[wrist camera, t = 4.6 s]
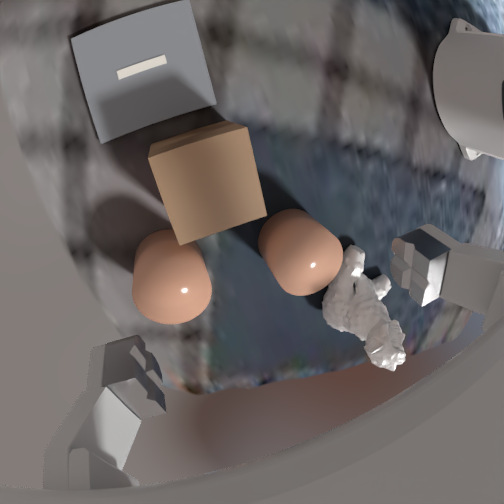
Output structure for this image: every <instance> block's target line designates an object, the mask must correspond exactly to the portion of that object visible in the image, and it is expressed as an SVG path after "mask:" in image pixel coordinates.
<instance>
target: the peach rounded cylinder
mask: <svg viewBox="0 0 504 504" xmlns="http://www.w3.org/2000/svg"><path fill="white" fill-rule="evenodd" d="M211 293H212V288H211V283H210V279H209V276H208V273H207V270H206V266H205V263H204V260H203V257H202V253H201V250H200V247H199V245H198V244H197V242H196V241H195V240H194V241H192V242H189V243H186V244H183V245H179V242H178V240H177V237H176V235H175V232H174V230H173V229H164V230H159V231H156V232H154V233H152V234H150V235H148V236H147V237H146V238H144V240H143V241H142V242H141V243H140V244H139V246H138V248H137V250H136V254H135V262H134V274H133V287H132V296H133V300H134V303H135V305H136V307H137V308H138V310H139V311H140V312H141V313H142V314H143V315H144V316H146V317H147V318H149V319H151V320H153V321H155V322H158V323H162V324H179V323H183V322H186V321H189V320H191V319H193V318H195V317H196V316H198V315H199V314H200V313H201V312H202V311H203V310H204V309H205V308H206V306H207V305H208V303H209V301H210V298H211Z"/></svg>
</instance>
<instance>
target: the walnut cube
mask: <svg viewBox="0 0 504 504" xmlns="http://www.w3.org/2000/svg"><path fill="white" fill-rule="evenodd" d="M148 160H149V163H150V166H151V169H152V172H153V175H154V178H155V180H156V183H157V186H158V189H159V192H160V194H161V197H162V200H163V203H164V206H165V208H166V211H167V214H168V216H169V219H170V222H171V224H172V227H173V230H174V232H175V235H176V237H177V240H178V242H179V245H183V244H186V243H189V242H192V241H194V240H197V239H200V238H203V237H206V236H209V235H212V234H214V233H217V232H220V231H223V230H226V229H229V228H232V227H235V226H238V225H241V224H244V223H247V222H250V221H253V220H256V219H259V218H262V217H265V216H267V213H266V208H265V204H264V199H263V195H262V190H261V186H260V181H259V177H258V173H257V168H256V164H255V159H254V155H253V151H252V146H251V142H250V138H249V134H248V129H247V127H245V126H242V125H239V124H236V123H233V122H230V121H227V120H226V121H222V122H218V123H215V124H211V125H208V126H204V127H201V128H198V129H194V130H191V131H188V132H185V133H182V134H179V135H176V136H173V137H170V138H167V139H164V140H161V141H158V142H155V143H153V144H151V146H150V151H149V155H148Z"/></svg>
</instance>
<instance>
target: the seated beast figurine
mask: <svg viewBox="0 0 504 504" xmlns="http://www.w3.org/2000/svg"><path fill="white" fill-rule="evenodd" d="M364 259H365V252H364V251H363V250H362V249H360V248H359V247H357V246H355V245H353V246H352V245H351V244H350V246H348V247H347V248H346V250H345V251H344V253H343V261H342V265H341V267H340V270H339V271H338V273H337V275H336V276H335V278H334V279H333V280H332V281H331V282H330V283H329V284H328V289H327V291H326V293H325V295H324V297H323V301H322V306H323V310H322V312H323V318H324V319H325V320H326V321H327V324H328V325H331V327H332V328H335V329H339V330H340V332H342V331H348V332H350V333H354V334H355V335H356V336H358V337H359V338H360V340H362V341H364V340H366V345H365V346H364V349H365V350H366V352H367V354H368V356H369V357H370V359H371V363H373V364H374V365H376V366H378V367H384V368H386V369H389V370H391V371H395V369H396V365H399V364H402V363H403V362H404V361H405V356H406V353H404V348H403V346H402V342H403V340H404V337H405V334H404V333H402V330H401V328H400V326H399V322H398V321H397V320H395V319H394V320H392V321H391V320H390V318H389V316H388V312H387V308H386V306H385V305H383V303H382V302H381V301H380V300H381V299H382V297H384V296H385V295H387V292H388V291H389V289H390V288H391V285H390V284H391V283H390V281H389V279H388V277H387V276H386V275H384V274H382V275H381V276H377V277H376V278H375V279H373V280H371V279H369V278H367V276H366V275H364V274H363V273H362V272H363V270H364V268H363V265H364ZM354 283H355V285H354V286H353V284H354Z"/></svg>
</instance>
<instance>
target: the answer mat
mask: <svg viewBox="0 0 504 504" xmlns="http://www.w3.org/2000/svg"><path fill="white" fill-rule="evenodd" d="M71 42H72V46H73V50H74V55H75V59H76V63H77V67H78V70H79V74H80V78H81V82H82V85H83V89H84V92H85V96H86V99H87V102H88V106H89V109H90V112H91V115H92V119H93V122H94V125H95V128H96V131H97V134H98V137H99V140H100V143H101V144H103V143H105V142H107V141H110V140H112V139H115V138H117V137H120V136H122V135H125V134H127V133H130V132H132V131H135V130H138V129H140V128H143V127H146V126H148V125H151V124H154V123H157V122H160V121H163V120H166V119H169V118H172V117H175V116H178V115H181V114H184V113H187V112H191V111H194V110H197V109H201V108H204V107H208V106H211V105H215V104H216V100H215V96H214V92H213V88H212V84H211V81H210V77H209V73H208V69H207V65H206V62H205V58H204V54H203V50H202V46H201V43H200V39H199V35H198V31H197V27H196V24H195V20H194V16H193V12H192V8H191V5H190V1H189V0H182V1H178V2H173V3H169V4H165V5H162V6H158V7H154V8H151V9H148V10H144V11H141V12H138V13H135V14H132V15H129V16H126V17H123V18H120V19H117V20H115V21H112V22H109V23H107V24H104V25H102V26H99V27H97V28H94V29H92V30H90V31H87V32H85V33H83V34H80V35H78V36H76V37H74V38H72V39H71Z"/></svg>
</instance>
